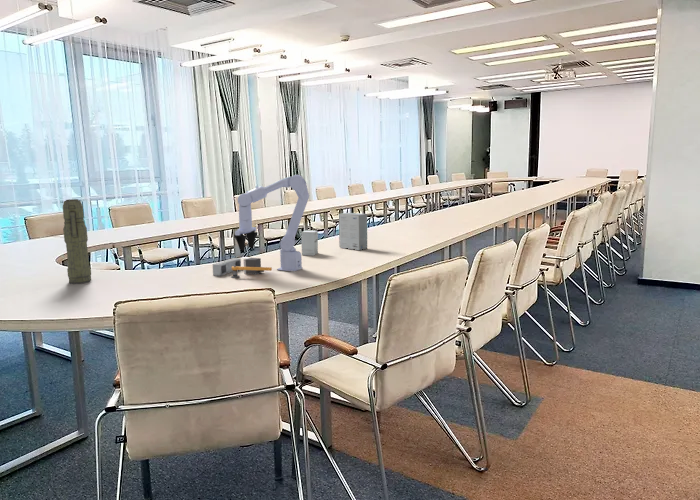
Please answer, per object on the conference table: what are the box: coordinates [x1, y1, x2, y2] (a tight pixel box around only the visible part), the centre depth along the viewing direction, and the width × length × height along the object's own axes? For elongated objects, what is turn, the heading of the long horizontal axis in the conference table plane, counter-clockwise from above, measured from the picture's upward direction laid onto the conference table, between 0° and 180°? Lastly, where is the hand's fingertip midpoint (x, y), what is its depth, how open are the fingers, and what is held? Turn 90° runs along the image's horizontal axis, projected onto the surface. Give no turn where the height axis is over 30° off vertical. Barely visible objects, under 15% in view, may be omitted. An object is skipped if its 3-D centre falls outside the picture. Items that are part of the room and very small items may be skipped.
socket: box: [212, 257, 242, 277], centre depth 241 cm, size 4×16×5 cm, turn 157°
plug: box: [243, 257, 265, 275], centre depth 238 cm, size 9×5×6 cm, turn 67°
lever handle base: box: [230, 270, 240, 279], centre depth 231 cm, size 4×4×3 cm
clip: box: [232, 266, 273, 272], centre depth 229 cm, size 3×18×2 cm, turn 81°
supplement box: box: [300, 230, 319, 256], centre depth 283 cm, size 7×7×13 cm
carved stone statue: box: [62, 198, 92, 285], centre depth 223 cm, size 9×12×35 cm
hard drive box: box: [338, 212, 368, 251], centre depth 299 cm, size 16×8×20 cm, turn 49°
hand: (246, 248), depth 244 cm, fingers open, 7 cm apart
